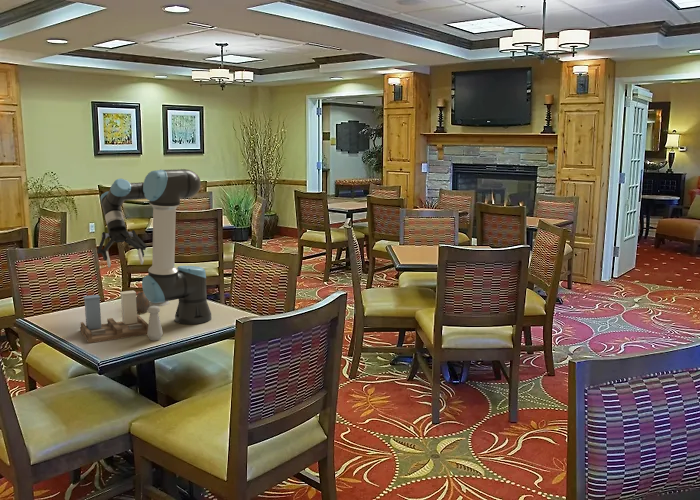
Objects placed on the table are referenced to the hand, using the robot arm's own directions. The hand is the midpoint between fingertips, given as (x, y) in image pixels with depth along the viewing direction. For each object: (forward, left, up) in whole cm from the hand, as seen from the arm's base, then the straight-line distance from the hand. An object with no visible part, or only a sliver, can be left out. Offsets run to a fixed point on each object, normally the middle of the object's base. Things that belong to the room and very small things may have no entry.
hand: (126, 264), depth 265 cm
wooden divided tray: (-6, +19, -24) cm, 31 cm away
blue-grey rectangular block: (+3, +20, -22) cm, 30 cm away
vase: (0, -11, -24) cm, 26 cm away
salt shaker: (-26, +23, -24) cm, 42 cm away
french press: (+1, -26, -24) cm, 35 cm away
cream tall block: (-7, +11, -22) cm, 25 cm away
